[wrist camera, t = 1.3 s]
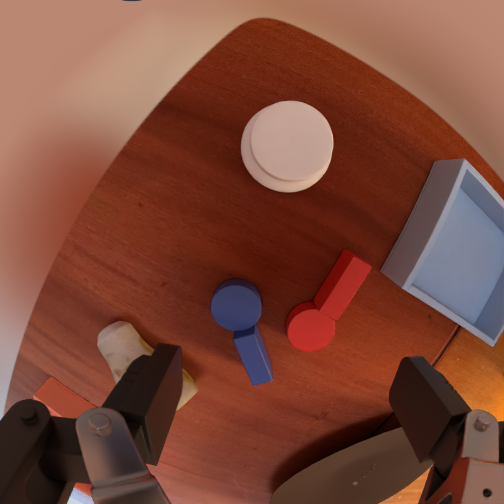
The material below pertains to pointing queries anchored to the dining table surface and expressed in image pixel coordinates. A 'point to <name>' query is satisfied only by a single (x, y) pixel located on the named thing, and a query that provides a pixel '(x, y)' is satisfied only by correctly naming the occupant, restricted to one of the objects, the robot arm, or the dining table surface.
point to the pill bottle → (287, 146)
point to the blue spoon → (243, 325)
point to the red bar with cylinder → (326, 304)
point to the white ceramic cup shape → (132, 354)
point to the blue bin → (455, 249)
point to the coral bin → (63, 408)
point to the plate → (356, 473)
